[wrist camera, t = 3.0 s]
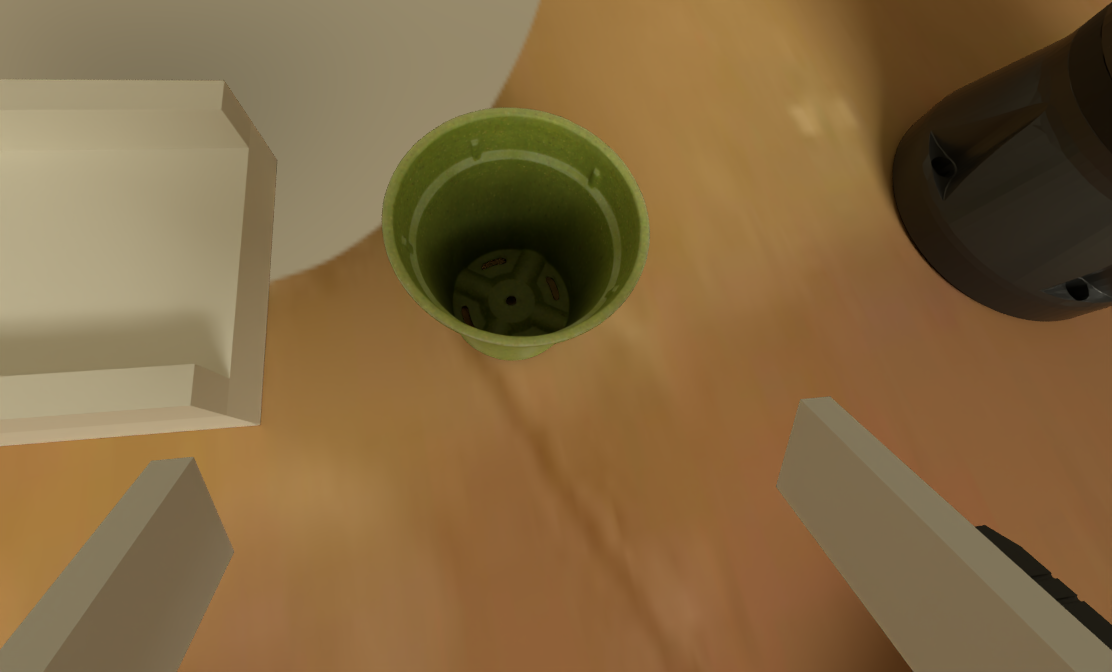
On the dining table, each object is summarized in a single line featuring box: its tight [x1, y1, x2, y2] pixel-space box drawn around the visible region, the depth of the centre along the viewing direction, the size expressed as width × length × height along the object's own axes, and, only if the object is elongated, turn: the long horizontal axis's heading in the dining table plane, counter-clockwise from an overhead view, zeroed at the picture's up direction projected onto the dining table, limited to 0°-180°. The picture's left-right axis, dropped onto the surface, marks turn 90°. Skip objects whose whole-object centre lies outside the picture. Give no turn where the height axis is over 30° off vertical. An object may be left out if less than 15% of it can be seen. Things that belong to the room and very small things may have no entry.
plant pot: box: [382, 108, 650, 360], centre depth 22 cm, size 9×9×9 cm
